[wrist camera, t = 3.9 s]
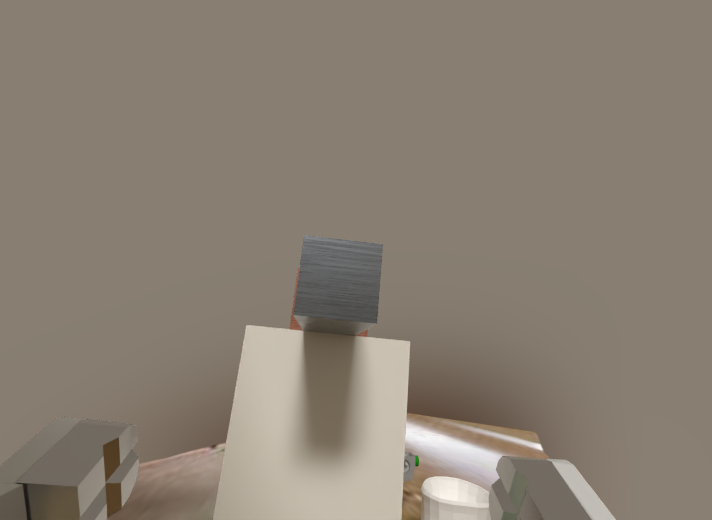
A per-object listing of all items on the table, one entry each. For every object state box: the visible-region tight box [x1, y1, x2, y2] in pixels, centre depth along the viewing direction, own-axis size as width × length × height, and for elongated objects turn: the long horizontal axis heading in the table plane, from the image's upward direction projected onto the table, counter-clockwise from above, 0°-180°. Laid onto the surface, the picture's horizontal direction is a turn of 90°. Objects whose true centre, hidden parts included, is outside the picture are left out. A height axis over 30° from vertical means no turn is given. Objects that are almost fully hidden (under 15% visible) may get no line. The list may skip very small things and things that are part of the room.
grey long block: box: [290, 235, 383, 337], centre depth 23 cm, size 6×18×5 cm, turn 5°
